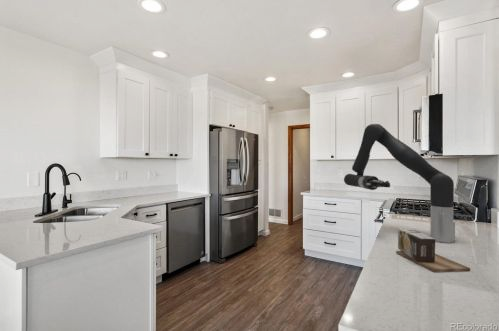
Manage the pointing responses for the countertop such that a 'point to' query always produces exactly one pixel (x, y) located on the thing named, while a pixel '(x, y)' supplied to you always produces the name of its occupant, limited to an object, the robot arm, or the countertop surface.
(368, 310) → the countertop surface
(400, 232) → the coffee box
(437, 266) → the cutting board
